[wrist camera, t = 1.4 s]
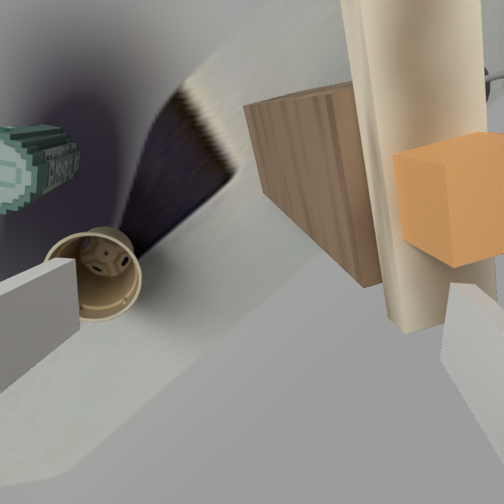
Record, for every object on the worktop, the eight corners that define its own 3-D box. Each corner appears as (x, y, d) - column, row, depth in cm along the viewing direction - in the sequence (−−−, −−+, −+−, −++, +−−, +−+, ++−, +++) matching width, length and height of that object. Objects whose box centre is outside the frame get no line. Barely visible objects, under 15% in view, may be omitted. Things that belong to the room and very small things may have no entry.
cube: (477, 131, 19) (549, 136, 16) (482, 217, 21) (549, 240, 17) (392, 154, 19) (444, 164, 15) (403, 239, 20) (453, 268, 17)
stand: (303, 90, 49) (472, 57, 20) (319, 177, 52) (484, 252, 24) (243, 105, 48) (331, 94, 20) (263, 192, 52) (363, 288, 23)
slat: (437, -179, 17) (468, -214, 15) (472, 291, 24) (497, 306, 22) (317, -153, 17) (334, -186, 15) (387, 316, 24) (405, 334, 22)
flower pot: (145, 292, 53) (139, 324, 45) (63, 287, 51) (41, 320, 43) (150, 217, 50) (144, 236, 42) (64, 209, 49) (40, 228, 40)
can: (21, 120, 45) (-52, 122, 31) (82, 132, 47) (39, 139, 32) (17, 178, 47) (-53, 205, 33) (77, 188, 48) (34, 218, 34)
